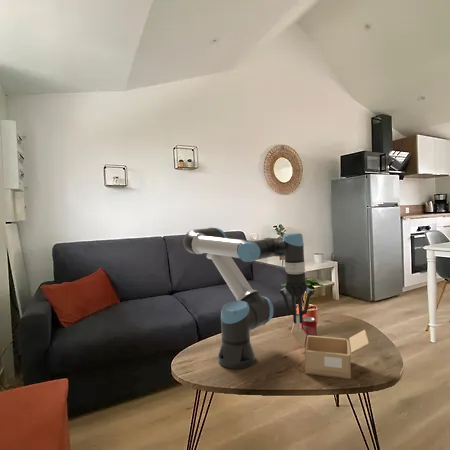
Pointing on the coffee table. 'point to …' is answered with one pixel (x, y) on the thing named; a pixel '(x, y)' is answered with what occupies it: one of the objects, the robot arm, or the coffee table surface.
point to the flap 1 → (298, 335)
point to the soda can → (309, 326)
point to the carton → (328, 357)
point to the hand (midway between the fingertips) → (298, 331)
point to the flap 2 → (358, 341)
